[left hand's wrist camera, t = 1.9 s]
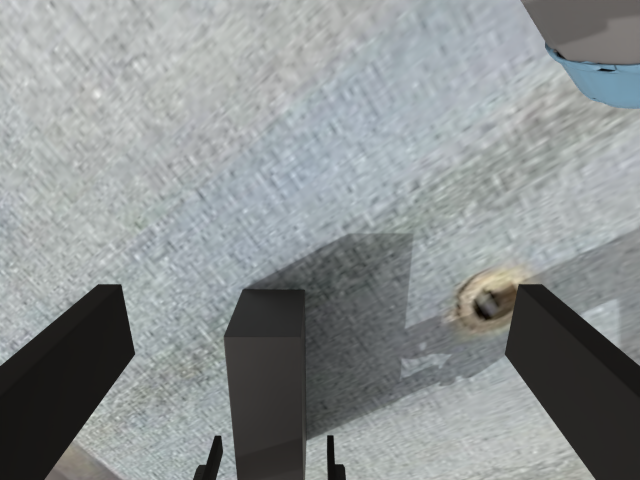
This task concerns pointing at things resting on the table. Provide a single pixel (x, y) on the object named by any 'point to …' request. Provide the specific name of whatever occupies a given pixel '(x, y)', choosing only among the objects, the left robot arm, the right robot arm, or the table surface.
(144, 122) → the table surface
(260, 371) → the box
